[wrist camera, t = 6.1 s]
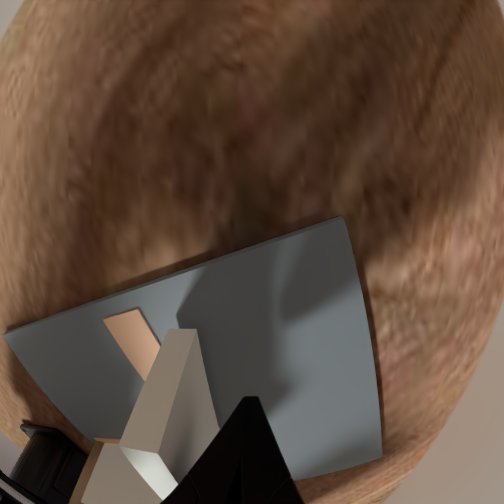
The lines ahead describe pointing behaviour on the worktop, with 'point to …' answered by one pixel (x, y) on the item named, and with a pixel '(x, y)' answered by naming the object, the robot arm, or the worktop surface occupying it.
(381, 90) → the worktop surface
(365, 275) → the worktop surface
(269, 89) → the worktop surface
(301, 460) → the card
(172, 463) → the fence gate panel
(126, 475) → the fence post and panel
